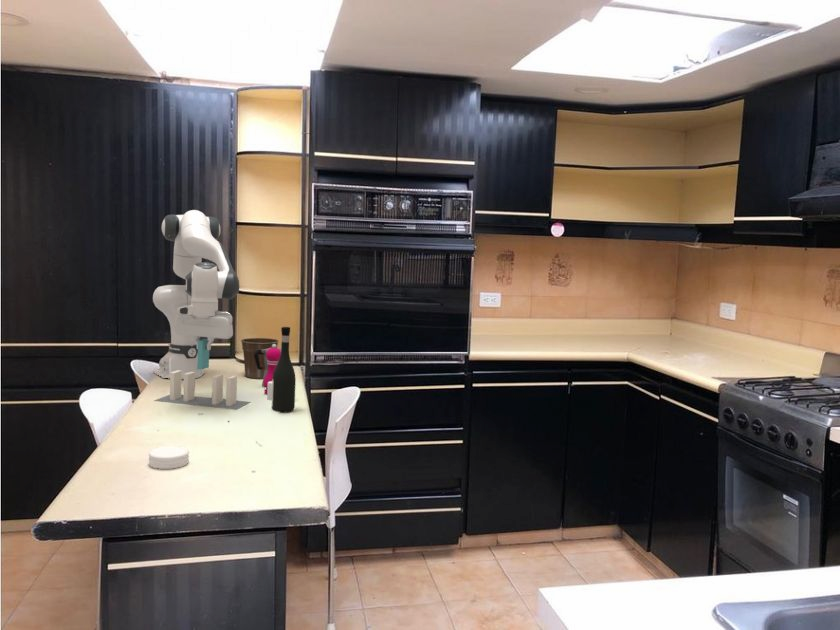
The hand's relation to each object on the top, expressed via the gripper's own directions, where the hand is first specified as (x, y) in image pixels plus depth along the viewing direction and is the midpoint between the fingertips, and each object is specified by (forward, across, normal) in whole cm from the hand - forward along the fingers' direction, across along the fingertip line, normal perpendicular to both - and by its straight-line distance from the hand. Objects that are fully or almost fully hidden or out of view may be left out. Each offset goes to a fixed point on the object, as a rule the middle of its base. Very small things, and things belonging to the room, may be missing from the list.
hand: (203, 349), depth 232 cm
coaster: (+21, -20, +54) cm, 61 cm away
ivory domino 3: (+21, -1, -9) cm, 23 cm away
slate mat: (+21, +4, -9) cm, 24 cm away
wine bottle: (+21, -26, -10) cm, 35 cm away
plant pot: (+22, +6, -60) cm, 64 cm away
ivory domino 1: (+21, +15, -9) cm, 27 cm away
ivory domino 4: (+21, -6, -9) cm, 24 cm away
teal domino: (+7, 0, 0) cm, 7 cm away
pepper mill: (+22, -13, -31) cm, 40 cm away
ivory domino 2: (+21, +10, -9) cm, 25 cm away
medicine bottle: (+22, -20, -22) cm, 37 cm away
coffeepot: (+22, -7, -44) cm, 50 cm away
